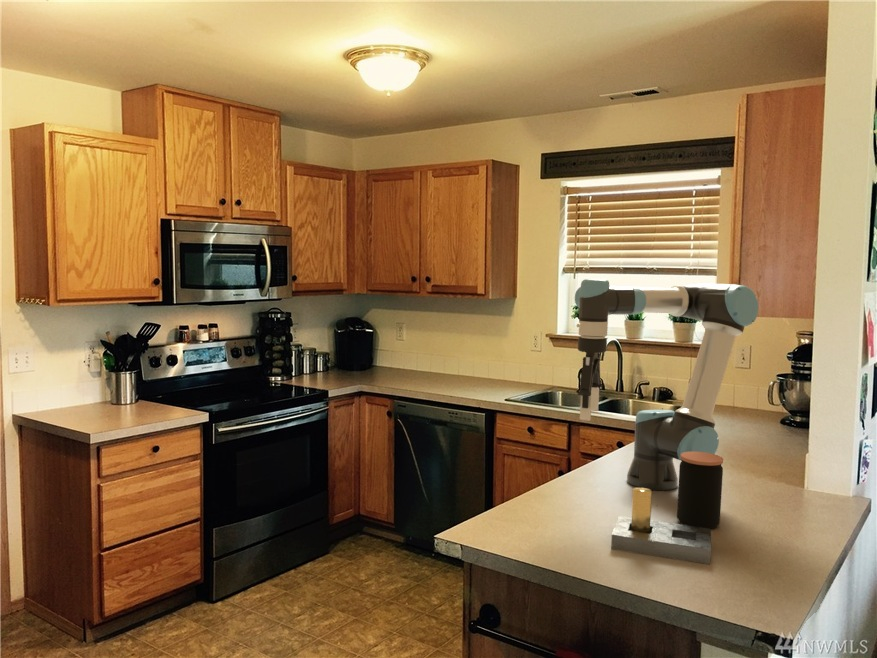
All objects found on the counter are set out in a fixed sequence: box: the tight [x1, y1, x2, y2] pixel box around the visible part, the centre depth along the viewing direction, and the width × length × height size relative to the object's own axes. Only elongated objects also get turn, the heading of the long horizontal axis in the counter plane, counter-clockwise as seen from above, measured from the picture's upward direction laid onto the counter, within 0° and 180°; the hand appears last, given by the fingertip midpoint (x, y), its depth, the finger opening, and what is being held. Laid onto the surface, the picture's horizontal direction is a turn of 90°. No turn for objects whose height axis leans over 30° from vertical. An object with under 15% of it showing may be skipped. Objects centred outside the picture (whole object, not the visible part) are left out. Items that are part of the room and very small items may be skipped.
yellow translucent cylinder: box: [631, 487, 653, 534], centre depth 174 cm, size 4×4×13 cm
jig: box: [610, 515, 712, 565], centre depth 173 cm, size 14×22×4 cm, turn 69°
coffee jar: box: [676, 451, 724, 530], centre depth 188 cm, size 11×11×18 cm
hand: (589, 415), depth 194 cm, fingers open, 13 cm apart
